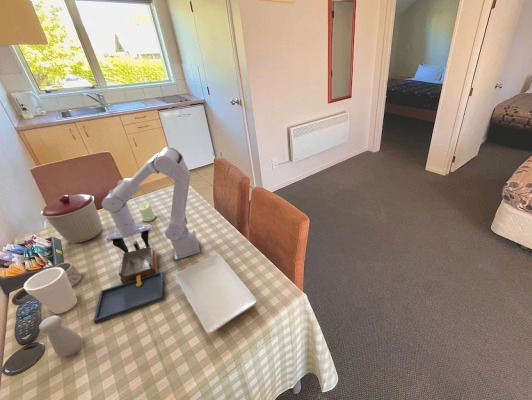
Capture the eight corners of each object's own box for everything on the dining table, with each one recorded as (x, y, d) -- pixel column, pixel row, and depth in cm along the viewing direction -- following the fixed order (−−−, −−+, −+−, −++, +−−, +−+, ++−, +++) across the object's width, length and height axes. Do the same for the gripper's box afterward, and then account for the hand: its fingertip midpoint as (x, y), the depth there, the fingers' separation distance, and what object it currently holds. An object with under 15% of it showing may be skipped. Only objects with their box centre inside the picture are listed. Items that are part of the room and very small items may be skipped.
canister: (70, 253, 112) (42, 212, 101) (54, 239, 120) (26, 199, 109) (117, 231, 125) (97, 192, 114) (99, 219, 133) (78, 182, 122)
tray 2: (209, 341, 78) (206, 334, 76) (176, 280, 98) (173, 273, 96) (260, 308, 87) (258, 301, 85) (220, 258, 108) (218, 252, 106)
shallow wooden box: (157, 255, 110) (155, 249, 108) (157, 274, 101) (154, 268, 99) (126, 264, 106) (123, 258, 104) (123, 285, 96) (119, 279, 95)
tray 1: (163, 273, 101) (162, 271, 100) (163, 299, 91) (162, 296, 90) (102, 293, 93) (100, 290, 93) (95, 323, 83) (93, 320, 83)
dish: (153, 247, 110) (149, 237, 107) (152, 268, 99) (148, 258, 96) (125, 255, 106) (120, 245, 103) (121, 278, 95) (115, 268, 93)
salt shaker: (69, 340, 79) (45, 312, 72) (89, 338, 79) (67, 310, 72) (54, 360, 74) (26, 332, 67) (75, 358, 74) (50, 330, 67)
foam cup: (62, 320, 85) (39, 292, 78) (39, 315, 86) (14, 287, 80) (89, 296, 92) (71, 269, 86) (68, 292, 94) (48, 265, 87)
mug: (79, 272, 102) (71, 259, 99) (82, 281, 98) (73, 268, 95) (45, 286, 96) (35, 273, 93) (46, 297, 92) (35, 284, 89)
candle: (151, 221, 131) (145, 207, 126) (141, 221, 131) (135, 207, 127) (157, 215, 135) (151, 202, 131) (147, 215, 135) (141, 202, 131)
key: (135, 276, 97) (135, 276, 97) (141, 275, 98) (141, 274, 98) (136, 287, 95) (136, 287, 94) (142, 285, 96) (141, 285, 95)
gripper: (147, 211, 105) (158, 238, 112) (103, 221, 100) (117, 249, 107) (146, 220, 100) (158, 248, 107) (99, 231, 94) (115, 260, 101)
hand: (137, 249), depth 106 cm, fingers closed on dish, 6 cm apart
